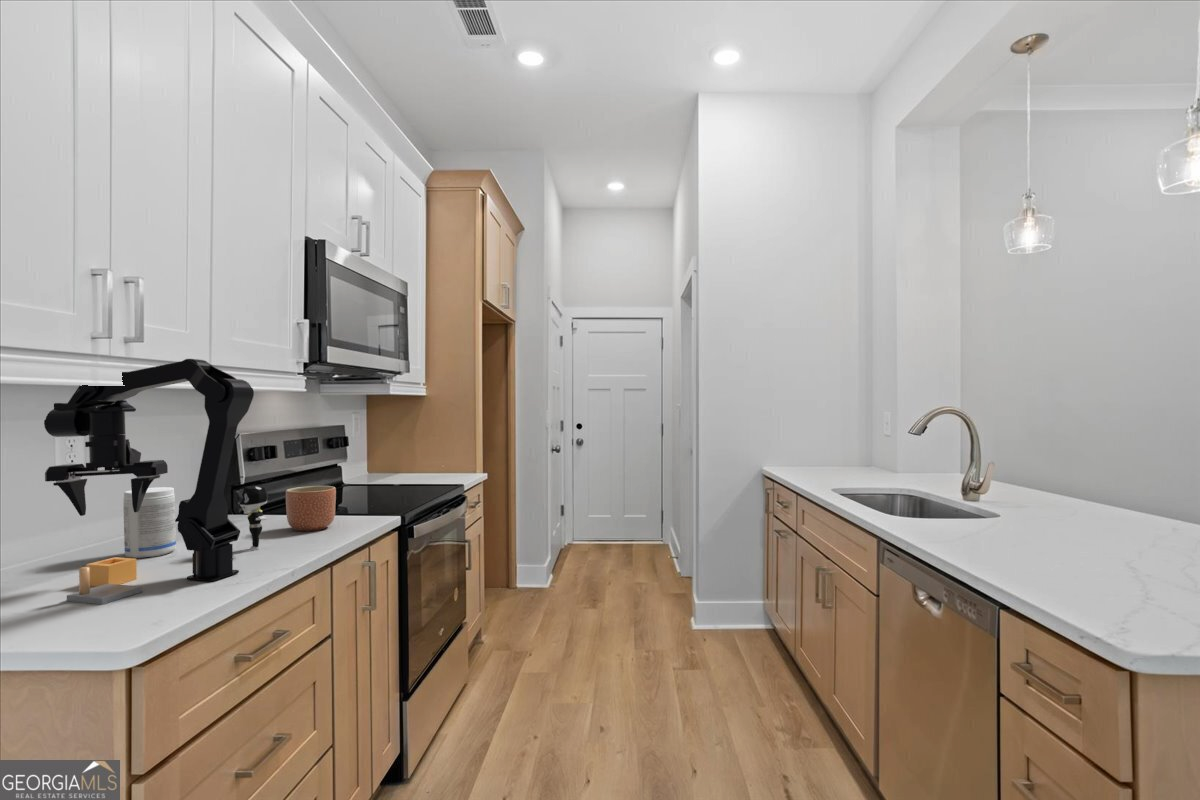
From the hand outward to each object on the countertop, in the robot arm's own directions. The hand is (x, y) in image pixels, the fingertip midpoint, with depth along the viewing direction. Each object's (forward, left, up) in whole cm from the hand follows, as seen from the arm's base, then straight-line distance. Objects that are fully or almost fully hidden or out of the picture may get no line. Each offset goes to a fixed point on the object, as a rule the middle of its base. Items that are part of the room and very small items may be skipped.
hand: (109, 513), depth 122 cm
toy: (-11, -25, -13) cm, 30 cm away
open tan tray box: (-5, +3, -13) cm, 14 cm away
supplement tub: (+9, -16, -13) cm, 23 cm away
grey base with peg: (-12, +10, -13) cm, 20 cm away
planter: (-8, -48, -13) cm, 51 cm away
